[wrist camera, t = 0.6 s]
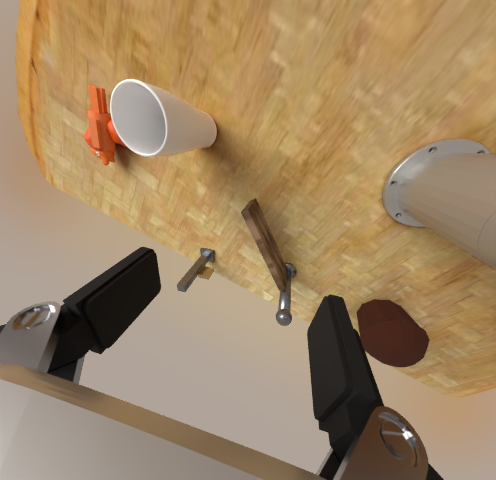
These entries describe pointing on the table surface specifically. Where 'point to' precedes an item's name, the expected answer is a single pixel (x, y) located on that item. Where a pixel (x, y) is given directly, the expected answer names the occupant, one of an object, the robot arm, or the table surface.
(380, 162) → the table surface
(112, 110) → the drinking glass
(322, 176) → the table surface
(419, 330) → the muffin
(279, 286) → the gate
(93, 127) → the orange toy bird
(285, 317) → the hinge post
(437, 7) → the table surface
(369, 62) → the table surface
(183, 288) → the post
